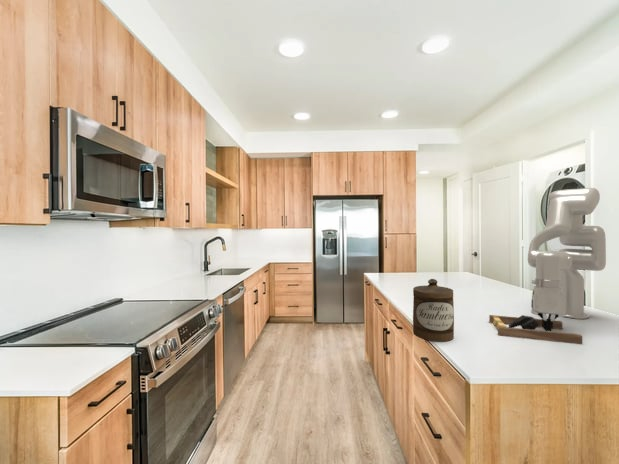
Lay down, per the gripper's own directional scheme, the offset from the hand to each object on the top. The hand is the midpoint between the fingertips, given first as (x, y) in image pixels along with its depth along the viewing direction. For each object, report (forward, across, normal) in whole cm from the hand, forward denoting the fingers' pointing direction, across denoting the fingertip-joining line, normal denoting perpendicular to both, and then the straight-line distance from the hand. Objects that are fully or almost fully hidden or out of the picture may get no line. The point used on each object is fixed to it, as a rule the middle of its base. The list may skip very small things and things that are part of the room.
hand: (547, 329), depth 121 cm
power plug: (+2, -10, -1) cm, 10 cm away
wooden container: (+2, -42, -17) cm, 46 cm away
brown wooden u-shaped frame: (+1, -6, 0) cm, 6 cm away
